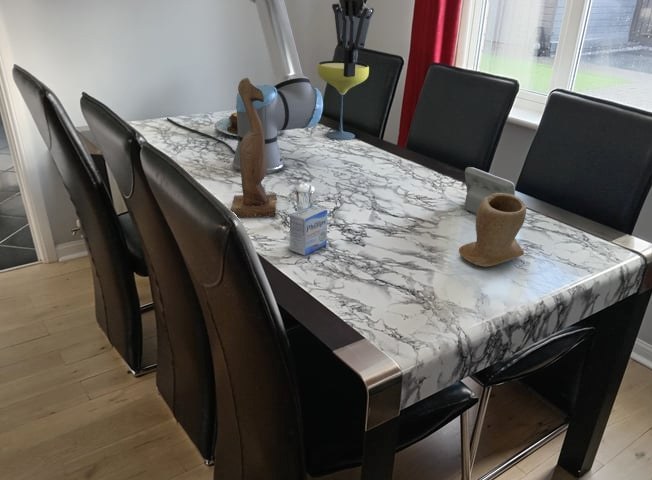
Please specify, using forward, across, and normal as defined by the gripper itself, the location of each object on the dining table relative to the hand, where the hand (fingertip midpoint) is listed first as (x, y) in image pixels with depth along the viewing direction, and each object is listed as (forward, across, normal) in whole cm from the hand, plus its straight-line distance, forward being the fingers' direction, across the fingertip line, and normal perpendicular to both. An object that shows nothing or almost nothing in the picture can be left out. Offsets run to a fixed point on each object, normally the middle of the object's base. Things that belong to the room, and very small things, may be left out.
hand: (349, 76), depth 151 cm
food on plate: (+31, -64, +12) cm, 72 cm away
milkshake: (+30, +13, -25) cm, 41 cm away
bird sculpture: (+30, 0, -31) cm, 43 cm away
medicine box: (+30, +26, -34) cm, 52 cm away
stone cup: (+30, +55, -5) cm, 63 cm away
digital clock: (+30, +37, +18) cm, 51 cm away
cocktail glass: (+31, -42, +37) cm, 63 cm away
